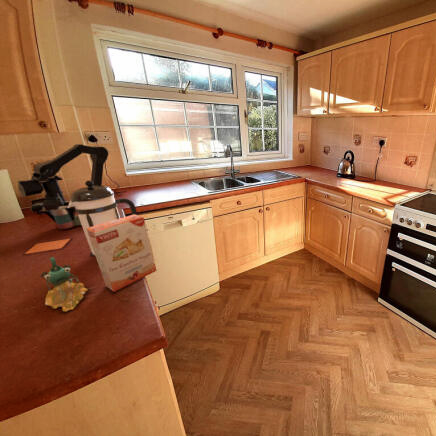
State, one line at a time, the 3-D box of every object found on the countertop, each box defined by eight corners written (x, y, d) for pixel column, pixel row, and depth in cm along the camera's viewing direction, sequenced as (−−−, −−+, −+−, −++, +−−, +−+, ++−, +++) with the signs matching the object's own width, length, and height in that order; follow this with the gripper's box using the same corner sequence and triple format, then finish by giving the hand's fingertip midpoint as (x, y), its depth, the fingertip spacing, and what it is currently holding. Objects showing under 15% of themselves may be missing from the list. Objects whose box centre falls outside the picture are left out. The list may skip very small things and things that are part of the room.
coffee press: (123, 261, 93) (99, 184, 82) (79, 264, 92) (48, 186, 81) (145, 241, 109) (127, 174, 98) (108, 242, 108) (86, 175, 97)
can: (77, 223, 127) (70, 205, 123) (72, 227, 121) (65, 209, 117) (61, 225, 124) (54, 207, 121) (56, 230, 119) (48, 211, 115)
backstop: (88, 223, 130) (84, 214, 128) (87, 224, 129) (83, 215, 127) (59, 226, 126) (56, 217, 124) (58, 228, 124) (54, 219, 123)
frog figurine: (84, 277, 84) (70, 240, 77) (93, 308, 72) (78, 267, 66) (46, 289, 78) (28, 250, 71) (49, 325, 66) (27, 282, 60)
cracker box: (114, 293, 75) (93, 232, 68) (105, 287, 78) (84, 227, 71) (158, 271, 86) (144, 216, 79) (148, 266, 89) (134, 213, 82)
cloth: (70, 239, 112) (70, 238, 112) (61, 248, 103) (61, 248, 103) (36, 244, 108) (36, 243, 108) (24, 254, 99) (24, 254, 99)
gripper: (17, 197, 106) (32, 230, 111) (70, 192, 112) (82, 223, 118) (30, 191, 115) (44, 222, 121) (79, 187, 122) (89, 216, 128)
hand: (64, 221), depth 122 cm, fingers closed on can, 6 cm apart
